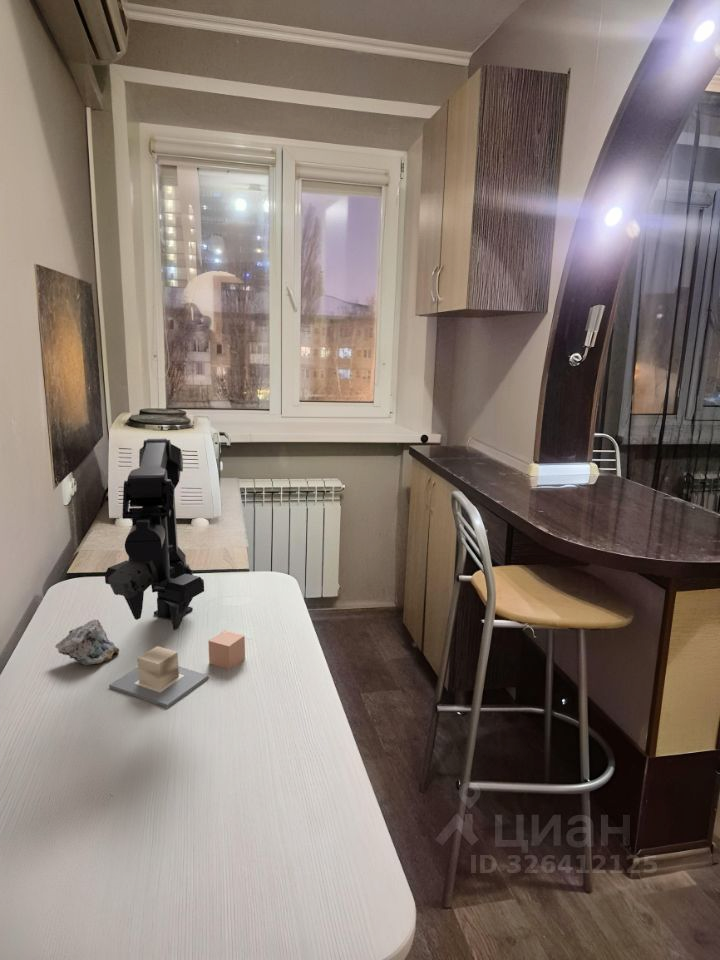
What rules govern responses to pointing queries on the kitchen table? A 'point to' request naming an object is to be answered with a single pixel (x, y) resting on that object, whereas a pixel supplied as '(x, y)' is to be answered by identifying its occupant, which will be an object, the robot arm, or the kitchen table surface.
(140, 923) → the kitchen table surface
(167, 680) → the beech cube
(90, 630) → the mineral specimen
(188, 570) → the robot arm
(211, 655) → the terracotta cube
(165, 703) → the slate board
